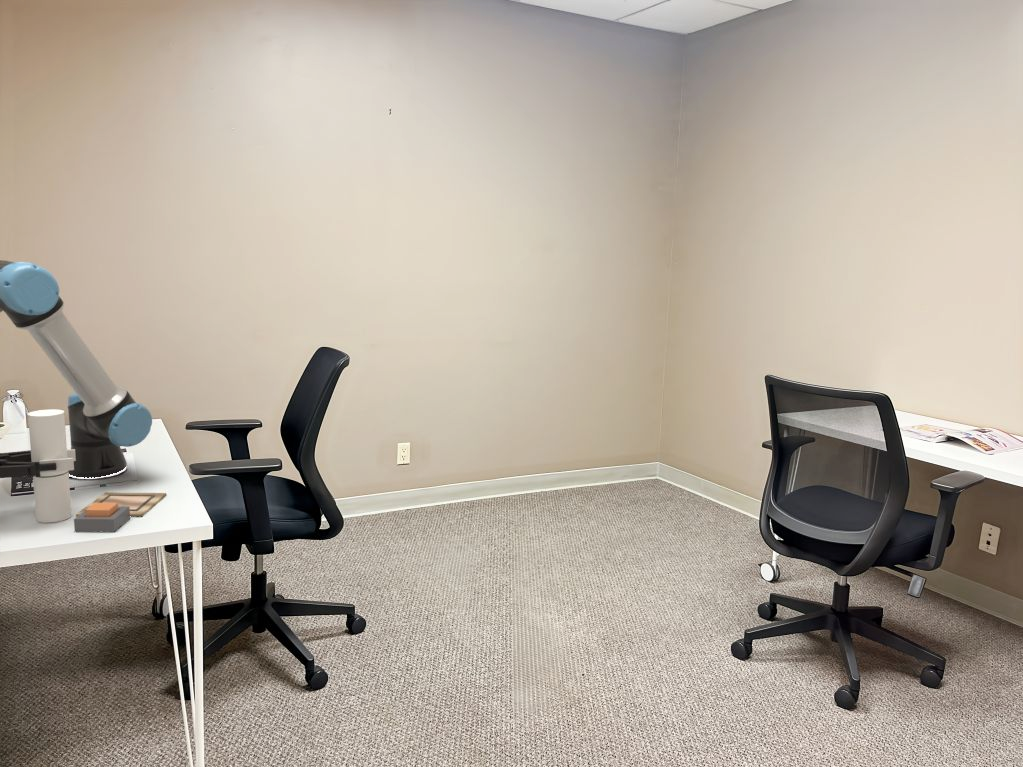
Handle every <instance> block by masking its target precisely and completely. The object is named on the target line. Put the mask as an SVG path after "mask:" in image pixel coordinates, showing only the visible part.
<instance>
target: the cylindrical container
mask: <svg viewBox="0 0 1023 767" xmlns="http://www.w3.org/2000/svg"><path fill="white" fill-rule="evenodd" d="M27 416H28V417H27V420H28V431H29V432H28V433H29V443H30V450H31V460H32V462H39V464H40V460H52V459H64V458H67V450H68V447H67V446H68V445H67V444H68V443H67V431H66V420H65V419H66V418H65V410H62V409H57V408H56V409H55V408H54V409H39V410H34V411H30V412H28V413H27ZM32 483H33V484H32V485H33V496H34V497H33V498H34V507H35V508H34V509H35V510H34V511H35V520H36V522H38V523H43V524H44V523H45V524H46V523H58V522H62V521H65V520H68V519H70V518H71V517H72V504H71V503H72V502H71V489H70V488H71V487H70V486H71V485H70V478H69V472H68V471H57V472H45V473H41V471H40V477H36V476H33V477H32Z"/></svg>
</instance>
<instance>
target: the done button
mask: <svg viewBox="0 0 1023 767" xmlns="http://www.w3.org/2000/svg"><path fill="white" fill-rule="evenodd" d="M117 511H118V503H94V504H93V505H92V506H90V507H89V508H88V509H86V517H110V516H112V515H113V514H114V513H115V512H117Z"/></svg>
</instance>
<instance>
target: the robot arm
mask: <svg viewBox="0 0 1023 767" xmlns="http://www.w3.org/2000/svg"><path fill="white" fill-rule="evenodd" d="M59 294H60V288H59V284H58V281H57V278H55V276H54V275H53V274H52V272H50V271H49V270H47V269H46V268H44V267H42V266H40V265H37V264H35V263H32V262H28V261H10V260H0V313H2V312H4V313H5V314H6V316H7V317H8V318H9V319H10V321H11V322H12V324H13V325H14V326H15V327H16V328H17V329H21V330H25V331H27V332H28V333H29V334H30V335H31V337H32V338H33V339H34V340H35V342H36V343H37V344H38V346H39V347H40V348H41V349H42V351H43V352H44V354H45V355H46V356H47V357H48V358H49V361H51V363H52V364H53V365H54V367H55V368H56V369H57V370H58V372H60V374H61V376H62V377H63V378H64V380H65V381H66V382H67V384H68V385H69V386H70V387H71V389H72V390H73V392H74V393H71V394H70V395H69V396H68V398H67V401H68V402H67V409H68V411H67V412H68V423H69V424H68V425H69V434H70V435H69V436H70V449H67V458H64V459H52V460H40V464H39V462H32V460H31V449H30V450H21V451H10V452H0V479H8V478H9V479H11V478H25V477H26V478H28V477H32V478H33V476H36V477H40V471H41V473H45V472H57V471H68V472H69V474H70V475H73V476H76V477H84V478H85V477H87V478H89V477H91V478H92V477H94V478H95V477H101V476H106V475H110V474H113V473H117V472H119V471H121V470H123V469H124V468H125V467H126V466H127V467H128V465H127V464H128V463H127V459H126V458H125V455H124V452H123V450H122V448H121V447H125V448H129V447H133V446H136V445H138V444H141V443H142V442H143V441H144V440H145V439H146V438H147V437H148V435H149V434H150V432H151V427H152V425H153V416H152V413H151V411H150V410H149V409H148V407H147V406H144V405H143V404H142V403H138V402H136V401H135V399H134V398H133V397H132V396H131V394H130V393H129V391H128V390H127V388H126V387H125V386H120V385H116V384H115V382H114V381H113V380H112V379H111V377H110V375H109V374H108V373H107V372H106V370H105V369H104V367H103V366H102V364H101V363H100V362H99V360H98V359H97V358H96V356H95V355H94V354H93V352H92V351H91V350H90V348H89V347H88V345H87V344H86V343H85V341H84V340H83V338H82V337H81V336H80V334H79V333H78V332H77V330H76V329H75V327H74V326H73V325H72V323H71V322H70V321H69V319H68V318H67V317H66V315H65V313H64V312H63V310H64V305H65V303H64V301H63V300H62V298H61V296H60V295H59Z"/></svg>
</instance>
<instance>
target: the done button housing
mask: <svg viewBox="0 0 1023 767" xmlns="http://www.w3.org/2000/svg"><path fill="white" fill-rule="evenodd" d="M130 519H131V517H130V507H128V506H118V511H117V512H115V513H114V514H113V515H112V516H110V517H86V511H84V512H83V513H81V514H80V515H79V516H76V517H75V518H74V519H73V526H74V532H75V531H76V532H75V533H78V532H77V531H84V532H83V533H86V532H85V531H88V532H87V533H94V532H93V531H98V532H97V533H101V532H100V531H103V532H102V533H107V532H106V531H109V532H108V533H113V532H112V531H115V532H116V531H118V530H119V529H120V528H121V527H122V526H124V525H125V524H126V523H127V522H128V521H129V520H130ZM127 520H128V521H127ZM126 521H127V522H126ZM125 522H126V523H125ZM124 523H125V524H124ZM120 526H121V527H120ZM119 527H120V528H119ZM118 528H119V529H118ZM117 529H118V530H117Z"/></svg>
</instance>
